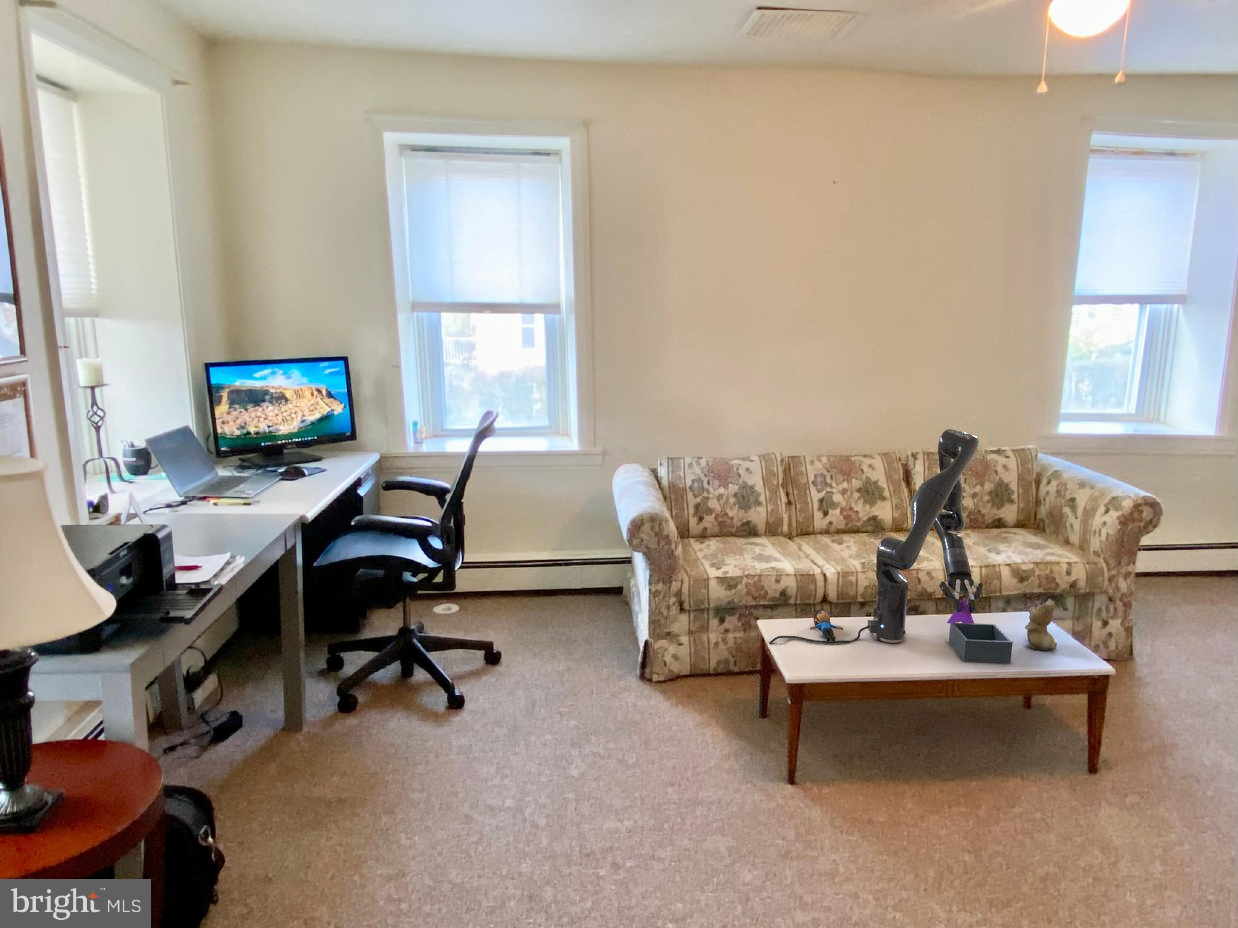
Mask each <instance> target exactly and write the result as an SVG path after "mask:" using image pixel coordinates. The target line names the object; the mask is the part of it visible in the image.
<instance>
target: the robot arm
mask: <svg viewBox="0 0 1238 928" xmlns="http://www.w3.org/2000/svg"><path fill="white" fill-rule="evenodd" d="M979 444H980V441H979V438H978V437H977V436H976V435H974V434H971V433H968V432H964V431H961V430H958V429H957V430H956V429H952V428H948V429H947V428H946V429H945V430H944V431H943V432H942V433H941V435H940V436H939V439H938V444H937V456H938V457H937V459H938V469H939V472H938V473H936V474H934V475H933V476H930V477H929V478H927V479H926V480H924V481H923V482H922V483H921V484H920V485H919V486H918V489H917V490H916V492H915V493H914V494H913V495H914V496H913V497H912V499H911V502H910V514H911V528H910V530H909V532H908V534H907V536H906V538H905V539H904V540H903V539H900V538H896V537H893V536H884V537H883V538H882V539H881V540H880V541H879V543H878V546H877V548H876V557H875V558H876V559H875V560H876V562H875V563H876V564H875V577H876V578H875V579H876V580H877V586H876V587H877V590H876V602H875V605H873V615H872V616H873V617H872V619H868V620H867V625H866V626H864V627H862V628H860V629H859V630H858V632H857V636H856V637H855V638H854V639H852V640H841V639H840V640H835V641H832V640H829V641H827V640H819V639H811V638H807V637H804V636H803V637H802V636H798V635H778V636H775V637H774V638H772V639H771V640H770V641H769V642H768V644H769V645H772V644H773V643H774V642H775V641H777V640H778V639H796V640H802V641H807V642H810V643H816V644H817V643H818V644H819V643H820V644H849V643H853V642H856V641H858V640H859V639H860V638H861V633H862V632H863V631H865V630H868V632H869V633H870V634H872V636H873V638H874V639H875V641H878V642H882V643H887V644H900V643H903V642H904V641H905V636H906V635H907V632H906V619H907V608H908V607H907V606H908V594H909V580H908V579H907V578H906V577H905V576H904V575H903V574H902V573H901V572H900V571H902V572H905V571H908V570H910V569H911V568H912V567H913V566H914V564H915V563H916V561H917V560H918V557H919V555H920V553H921V551H922V548H923V546H924V544H925V541H926V539H927V537H928V535H929V533H930V531H931V529H932V528H933V529H934V531H935V533H936V535H937V537H938V539H939V542H940V544H941V548H942V555H943V565H944V569H945V574H946V581H944V580H942V581H941V582H940V583H939V585H938V586H939V588H940V590H941V592H942V593H943V595H944V596H945V598H946V599H947V600H948V601H952V602H953V605H954V606H953V607H954V611H955V610H956V611H957V612H958V613H960V612H961V611H962V608H961V600H960V593H962V594H963V595H964V596H965V598H966V600H967V604H968V607H969V610H970V613H971V614H973V613H974V612H975V611H976V609H977V608H976V603H975V602H977V601H978V600H979V599H980V597H981V594H982V590H983V585H984V584H983V583H982V582H979V583H978V582H975V580H974V579H973V577H972V573H971V567H970V562H969V557H968V553H967V551H966V547H965V546H966V545H965V543H964V538H963V537H962V535H960V534H958V533H954V532H961V531H962V530H963V529H964V528H965V526H966V521H965V520H966V519H965V516H964V513H963V508H962V507H963V506H962V501H963V495H964V494H963V493H964V487H963V484H962V481H961V479H960V477H961V476H962V475H963V473H964V471H965V470H966V469H967V467H968V466H969V464H970V463H971V461H972V460H973V458H974V457H975V455H976V453H977V451H978V448H979ZM972 587H973V589H974V590H975V591H974V594H973V590H972ZM951 589H952V591H951ZM762 706H763V682H759V705H758V719H761V718H762Z"/></svg>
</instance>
